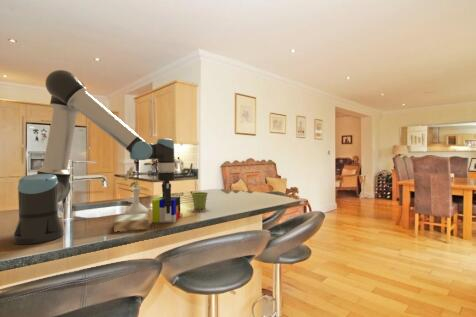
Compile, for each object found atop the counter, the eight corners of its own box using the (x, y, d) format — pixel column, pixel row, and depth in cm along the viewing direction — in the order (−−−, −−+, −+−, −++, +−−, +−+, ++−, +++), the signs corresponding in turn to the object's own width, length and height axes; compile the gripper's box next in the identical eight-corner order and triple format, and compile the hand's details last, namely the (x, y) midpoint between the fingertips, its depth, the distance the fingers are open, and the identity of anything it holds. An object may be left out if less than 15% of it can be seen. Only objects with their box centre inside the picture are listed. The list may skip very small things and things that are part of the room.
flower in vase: (134, 212, 146) (133, 165, 145) (152, 213, 143) (152, 165, 142) (117, 217, 133) (116, 166, 133) (137, 219, 130) (136, 166, 130)
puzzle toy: (174, 222, 123) (173, 200, 123) (152, 222, 124) (152, 200, 124) (180, 217, 133) (180, 196, 133) (160, 217, 134) (160, 196, 134)
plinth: (114, 232, 108) (113, 222, 108) (116, 224, 121) (116, 215, 121) (148, 228, 113) (148, 219, 113) (147, 221, 125) (147, 212, 125)
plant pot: (188, 209, 152) (188, 194, 152) (196, 206, 161) (195, 191, 161) (203, 210, 149) (203, 194, 149) (210, 207, 158) (210, 192, 158)
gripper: (177, 173, 118) (178, 222, 118) (171, 170, 141) (172, 211, 141) (159, 173, 115) (160, 224, 116) (156, 170, 138) (157, 212, 139)
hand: (166, 217), depth 128 cm, fingers closed on puzzle toy, 12 cm apart
